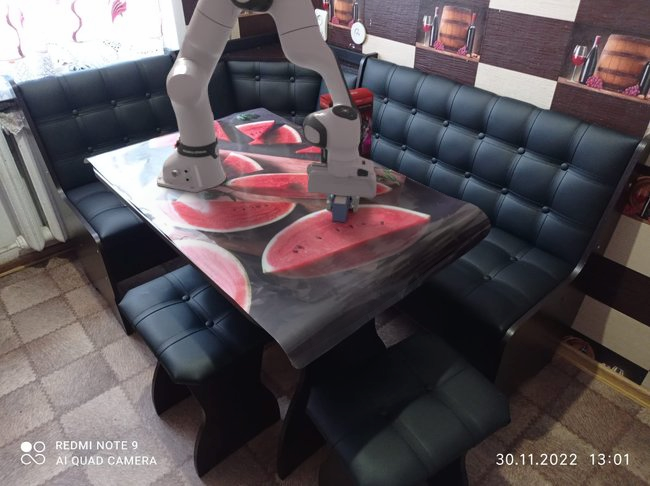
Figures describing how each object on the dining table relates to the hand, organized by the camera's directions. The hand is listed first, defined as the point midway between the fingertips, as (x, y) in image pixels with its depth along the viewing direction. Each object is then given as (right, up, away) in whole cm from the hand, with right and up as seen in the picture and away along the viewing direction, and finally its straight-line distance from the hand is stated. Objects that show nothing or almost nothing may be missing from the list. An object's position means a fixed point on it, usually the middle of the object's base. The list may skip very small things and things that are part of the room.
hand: (341, 206), depth 145 cm
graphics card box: (+2, +14, +24) cm, 28 cm away
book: (0, -2, +1) cm, 2 cm away
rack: (+1, +2, +7) cm, 7 cm away
